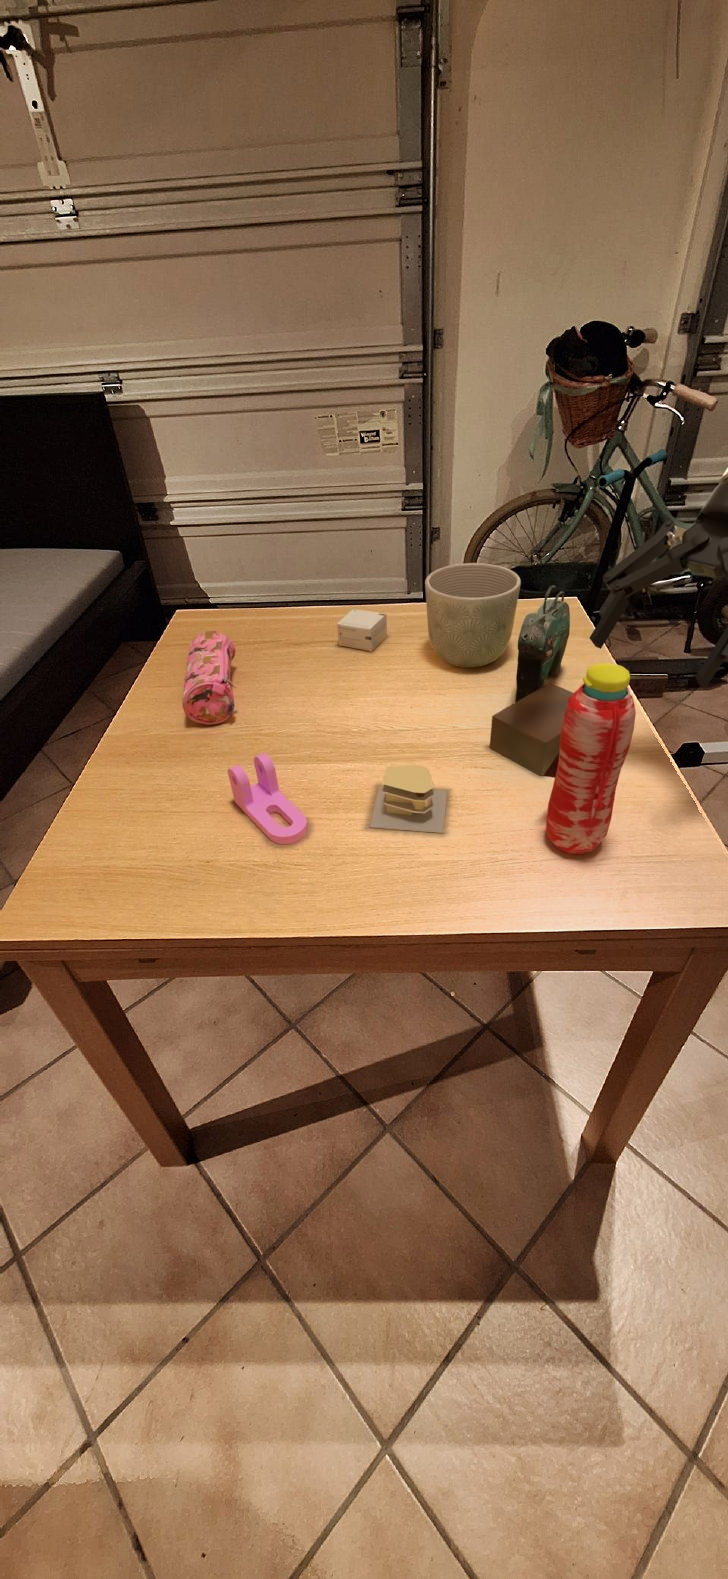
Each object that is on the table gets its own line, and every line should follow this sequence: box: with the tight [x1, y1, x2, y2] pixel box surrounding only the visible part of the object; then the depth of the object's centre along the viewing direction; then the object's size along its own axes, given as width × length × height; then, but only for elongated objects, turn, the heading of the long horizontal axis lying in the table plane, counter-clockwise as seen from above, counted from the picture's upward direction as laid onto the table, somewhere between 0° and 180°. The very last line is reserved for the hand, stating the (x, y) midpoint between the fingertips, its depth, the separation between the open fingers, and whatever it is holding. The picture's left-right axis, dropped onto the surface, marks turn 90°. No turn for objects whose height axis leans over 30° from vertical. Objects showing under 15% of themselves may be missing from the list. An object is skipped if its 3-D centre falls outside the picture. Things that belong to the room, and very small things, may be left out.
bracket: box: [227, 752, 309, 845], centre depth 87 cm, size 13×6×7 cm, turn 37°
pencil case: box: [181, 629, 237, 725], centre depth 114 cm, size 21×9×9 cm, turn 10°
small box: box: [336, 608, 388, 653], centre depth 129 cm, size 8×8×5 cm
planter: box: [424, 562, 522, 668], centre depth 118 cm, size 17×17×15 cm
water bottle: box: [542, 662, 637, 855], centre depth 76 cm, size 12×8×25 cm, turn 2°
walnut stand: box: [489, 682, 574, 777], centre depth 98 cm, size 10×14×6 cm
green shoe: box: [514, 584, 571, 703], centre depth 105 cm, size 20×6×20 cm, turn 151°
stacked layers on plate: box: [369, 765, 448, 834], centre depth 87 cm, size 10×9×6 cm
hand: (644, 662), depth 74 cm, fingers open, 13 cm apart
